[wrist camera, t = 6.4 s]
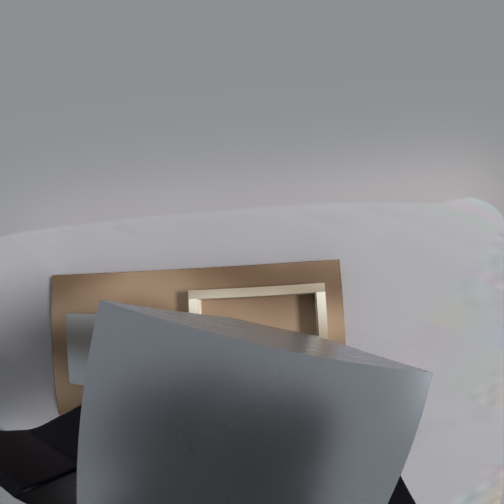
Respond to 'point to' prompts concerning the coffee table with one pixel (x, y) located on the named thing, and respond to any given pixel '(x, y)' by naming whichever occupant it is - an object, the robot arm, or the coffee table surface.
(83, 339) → the wooden board
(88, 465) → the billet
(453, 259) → the coffee table surface
